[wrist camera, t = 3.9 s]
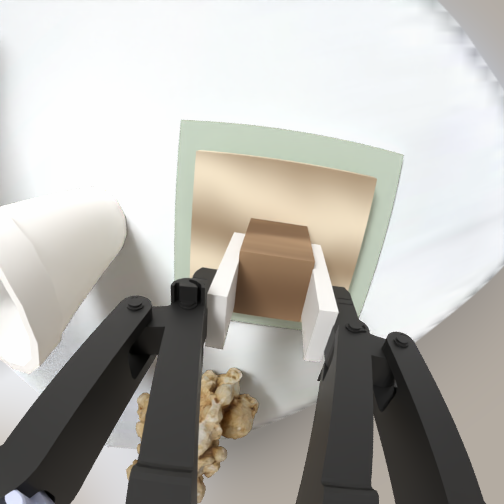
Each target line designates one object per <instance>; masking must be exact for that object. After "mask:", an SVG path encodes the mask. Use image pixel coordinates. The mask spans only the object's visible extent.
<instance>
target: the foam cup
mask: <svg viewBox="0 0 504 504" xmlns="http://www.w3.org/2000/svg"><path fill="white" fill-rule="evenodd" d="M126 235H127V229H126V218H125V215H124V213H123V211H122V209H121V207H120V205H119V203H118V201H117V200H116V199H115V198H114V197H112V196H111V195H110V194H109V193H108V192H107V191H106V190H103V189H99V188H96V187H86V188H80V189H75V190H70V191H65V192H60V193H55V194H50V195H46V196H41V197H37V198H32V199H28V200H24V201H20V202H16V203H12V204H8V205H4V206H0V360H2V361H3V362H4V363H6V364H7V365H8V366H10V367H11V368H12V369H15V370H18V371H21V372H24V373H27V374H31V373H32V372H33V371H35V370H36V369H37V368H39V367H40V366H41V364H42V363H43V362H44V361H45V360H46V358H47V357H48V356H49V355H50V354H51V352H52V351H53V350H54V349H55V348H56V346H57V345H58V344H59V343H60V342H61V338H62V332H63V331H64V329H65V328H66V326H67V325H68V323H69V322H70V320H71V319H72V317H73V316H74V314H75V313H76V311H77V310H78V308H79V307H80V305H81V304H82V302H83V301H84V299H85V298H86V297H87V295H88V294H89V292H90V291H91V289H92V288H93V287H94V285H95V284H96V282H97V281H98V280H99V278H100V277H101V276H102V274H103V273H104V272H105V270H106V269H107V268H108V266H109V265H110V264H111V262H112V261H113V260H114V258H115V257H116V256H117V254H118V253H119V252H120V249H122V248H123V244H124V241H125V238H126Z"/></svg>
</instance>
